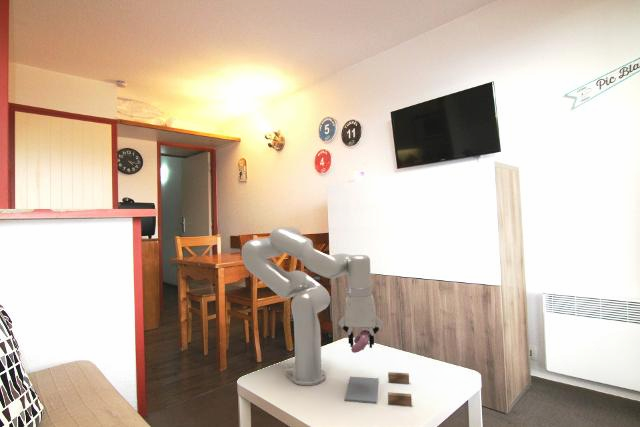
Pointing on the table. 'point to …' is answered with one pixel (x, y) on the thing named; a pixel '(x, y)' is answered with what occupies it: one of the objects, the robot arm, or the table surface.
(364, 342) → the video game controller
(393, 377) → the dock
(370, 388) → the mat
